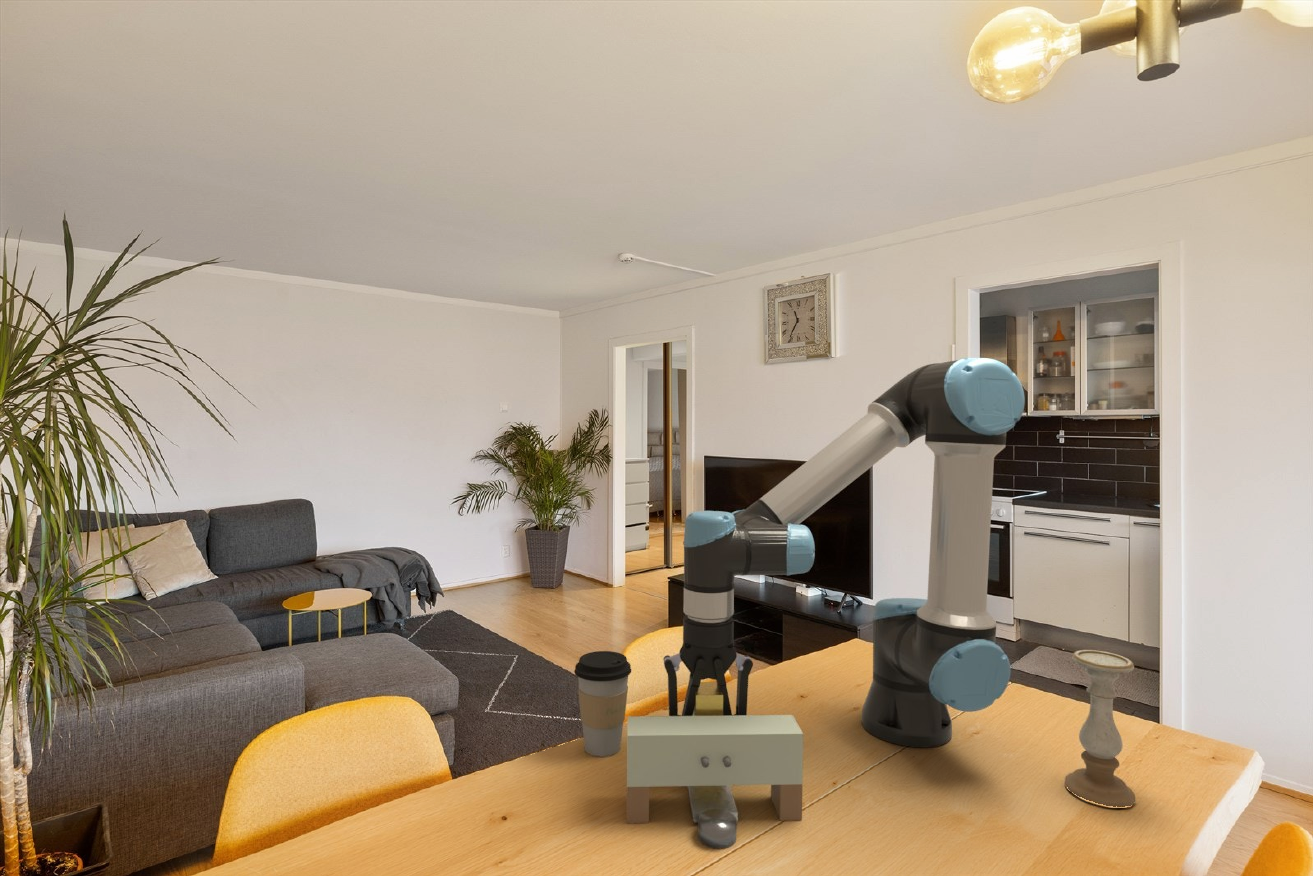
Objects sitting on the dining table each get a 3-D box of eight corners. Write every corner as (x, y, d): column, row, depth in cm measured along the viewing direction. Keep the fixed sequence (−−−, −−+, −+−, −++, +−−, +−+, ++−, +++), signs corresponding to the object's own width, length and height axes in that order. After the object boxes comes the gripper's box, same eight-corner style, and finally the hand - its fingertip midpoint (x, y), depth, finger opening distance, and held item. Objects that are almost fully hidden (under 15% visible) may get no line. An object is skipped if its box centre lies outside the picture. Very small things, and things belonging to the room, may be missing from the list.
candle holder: (1124, 784, 104) (1127, 652, 104) (1144, 815, 96) (1148, 671, 95) (1058, 774, 107) (1061, 645, 107) (1072, 803, 99) (1076, 664, 98)
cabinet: (791, 796, 100) (792, 715, 100) (803, 824, 93) (805, 737, 93) (626, 799, 99) (627, 716, 98) (626, 827, 92) (627, 739, 92)
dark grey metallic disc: (734, 827, 92) (734, 809, 92) (738, 850, 87) (738, 831, 87) (697, 826, 93) (697, 808, 92) (698, 849, 88) (699, 830, 87)
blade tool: (723, 772, 106) (725, 682, 105) (737, 821, 93) (739, 718, 92) (685, 772, 105) (686, 682, 105) (693, 822, 92) (694, 719, 92)
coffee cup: (622, 765, 109) (623, 671, 108) (565, 758, 110) (566, 666, 110) (636, 738, 118) (637, 651, 117) (583, 732, 120) (584, 647, 119)
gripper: (760, 608, 106) (758, 757, 107) (650, 608, 106) (649, 758, 106) (770, 622, 99) (768, 782, 100) (652, 623, 98) (650, 784, 99)
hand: (706, 769), depth 103 cm, fingers closed on blade tool, 4 cm apart
